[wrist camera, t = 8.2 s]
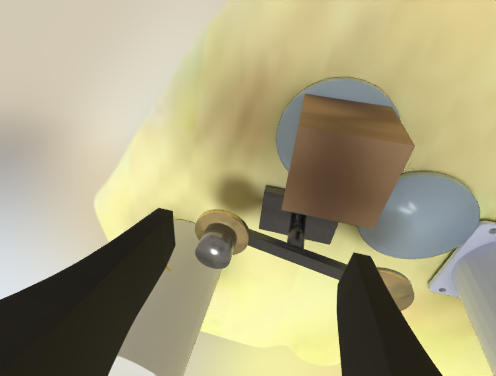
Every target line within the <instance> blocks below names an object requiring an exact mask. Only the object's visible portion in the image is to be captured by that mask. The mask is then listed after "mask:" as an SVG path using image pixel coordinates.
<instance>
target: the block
mask: <svg viewBox="0 0 496 376" xmlns="http://www.w3.org/2000/svg"><path fill="white" fill-rule="evenodd" d="M414 147H415V145H414V144H413V142H412V140H411V138H410V137H409V135H408V133H407V132H406V130H405V128H404V126H403V125H402V123H401V121H400V119H399V118H398V116H397V114H396V112H395V111H394V109H393V107H389V106H383V105H376V104H370V103H363V102H356V101H350V100H343V99H337V98H330V97H324V96H317V95H311V94H305V95H304V100H303V105H302V110H301V115H300V120H299V125H298V130H297V135H296V139H295V144H294V149H293V154H292V159H291V164H290V169H289V174H288V179H287V184H286V189H285V194H284V199H283V204H282V209H281V210H284V211H289V212H294V213H299V214H303V215H308V216H313V217H318V218H322V219H327V220H332V221H337V222H342V223H346V224H351V225H356V226H361V227H365V228H370V229H374V228H375V226H376V224H377V222H378V220H379V218H380V215H381V213H382V211H383V209H384V207H385V205H386V203H387V201H388V199H389V197H390V195H391V193H392V191H393V189H394V187H395V185H396V183H397V181H398V179H399V177H400V175H401V173H402V171H403V169H404V167H405V165H406V163H407V161H408V159H409V157H410V155H411V153H412V151H413V149H414Z"/></svg>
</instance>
